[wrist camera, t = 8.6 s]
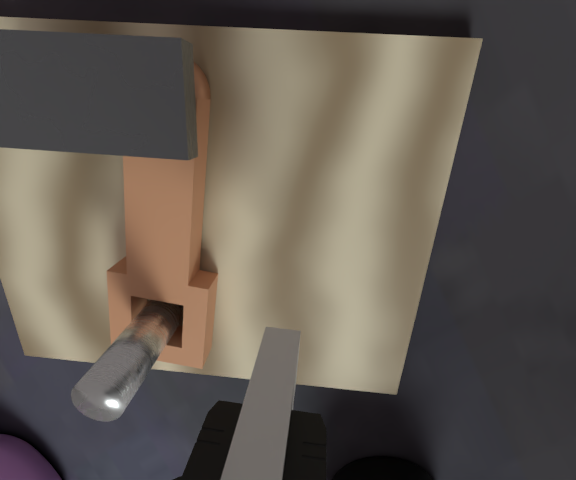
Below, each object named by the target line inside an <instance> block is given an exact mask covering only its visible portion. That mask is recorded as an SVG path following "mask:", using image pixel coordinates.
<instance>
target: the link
mask: <svg viewBox="0 0 576 480" xmlns="http://www.w3.org/2000/svg"><path fill="white" fill-rule="evenodd" d="M194 82H195V102H196V123H197V143H198V157H196V158H193V159H191V160H175V159H160V158H146V157H131V156H123V176H124V206H125V235H126V256H125V257H124V258H123V259H121V260H120V261H119V262H117V263H116V264H115V265H113V266H112V267H111V268H110V269H108V270H107V287H108V304H109V320H110V337H111V344H112V343H113V342H114V341H115V340H116V338H117V337H118V336H119V335H120V334H121V333H122V332H123V331H124V329H125V328H126V327H127V326H128V325H129V324H130V323H131V321H132V320H133V319H134V318H135V317H136V316H137V315H138V313H139V312H140V311H141V310H142V309H143V308H144V307H145V305H146V304H147V299H151V300H156V301H162V302H167V303H173V304H178V305H183V306H184V309H183V326H178V327H177V329H176V331H175V332H174V334H173V335H172V337H171V338H170V340H169V342H168V343H167V345H166V346H165V348H164V349H163V351H162V352H161V354H160V356H159V357H158V359H157V361H162V362H167V363H173V364H178V365H183V366H189V367H194V368H199V369H203V366H204V364H205V362H206V359H207V357H208V355H209V353H210V350H211V348H212V338H213V326H214V315H215V304H216V293H217V282H218V273H213V272H208V271H202V270H200V256H201V241H202V225H203V210H204V194H205V178H206V163H207V147H208V132H209V116H210V101H211V94H210V87H209V84H208V81H207V78H206V76H205V74H204V73H203V71H202V70H201V69H200V67H199V66H198V65H197V64H196V63H195V62H194Z"/></svg>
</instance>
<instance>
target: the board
mask: <svg viewBox="0 0 576 480" xmlns="http://www.w3.org/2000/svg"><path fill="white" fill-rule="evenodd" d="M0 29H7V30H28V31H49V32H70V33H91V34H112V35H133V36H154V37H175V38H182V39H184V40H186V41H188V42H190V43H192V44H193V61H194V62H195V63H196V64H197V65H198V66H199V67H200V69H201V70H202V71H203V73H204V74H205V76H206V78H207V81H208V84H209V87H210V94H211V101H210V116H209V132H208V147H207V163H206V178H205V194H204V210H203V225H202V241H201V256H200V270H202V271H208V272H213V273H218V282H217V293H216V304H215V315H214V326H213V338H212V348H211V350H210V353H209V355H208V357H207V359H206V362H205V364H204V366H203V369H199V368H194V367H189V366H183V365H178V364H173V363H167V362H162V361H157V360H156V362H155V363H154V365H153V367H152V368H151V369H158V370H168V371H177V372H187V373H196V374H205V375H215V376H224V377H234V378H243V379H250V378H251V375H252V371H253V368H254V365H255V361H256V358H257V355H258V351H259V348H260V344H261V341H262V338H263V334H264V331H265V328H266V327H274V328H282V329H290V330H298V331H301V334H300V344H299V355H298V366H297V377H296V384H300V385H309V386H319V387H328V388H338V389H347V390H357V391H366V392H376V393H385V394H395V395H397V391H398V387H399V383H400V378H401V374H402V370H403V366H404V362H405V358H406V354H407V350H408V345H409V341H410V337H411V333H412V329H413V325H414V321H415V317H416V312H417V308H418V304H419V300H420V296H421V292H422V288H423V284H424V279H425V275H426V271H427V267H428V263H429V259H430V255H431V251H432V246H433V242H434V238H435V234H436V230H437V226H438V222H439V218H440V213H441V209H442V205H443V201H444V197H445V193H446V189H447V185H448V180H449V176H450V172H451V168H452V164H453V160H454V156H455V152H456V147H457V143H458V139H459V135H460V131H461V127H462V123H463V119H464V114H465V110H466V106H467V102H468V98H469V94H470V90H471V86H472V81H473V77H474V73H475V69H476V65H477V61H478V57H479V53H480V48H481V44H482V40H483V39H480V38H458V37H436V36H414V35H392V34H370V33H348V32H327V31H305V30H283V29H261V28H239V27H217V26H195V25H173V24H151V23H129V22H107V21H85V20H63V19H41V18H19V17H0ZM125 256H126V235H125V206H124V176H123V156H117V155H102V154H88V153H73V152H59V151H44V150H30V149H15V148H1V147H0V278H1V281H2V285H3V288H4V291H5V294H6V297H7V300H8V303H9V307H10V310H11V313H12V316H13V319H14V322H15V326H16V329H17V332H18V335H19V338H20V341H21V344H22V348H23V351H24V354H25V355H26V356H35V357H45V358H54V359H64V360H73V361H83V362H92V363H95V362H96V361H97V360H98V359H99V358H100V357H101V356H102V354H103V353H104V352H105V351H106V350H107V349H108V348H109V346H110V345H111V337H110V320H109V304H108V287H107V270H108V269H110V268H111V267H112V266H113V265H115V264H116V263H117V262H119V261H120V260H121V259H123V258H124V257H125ZM150 300H151V299H147V303H148V302H149V301H150ZM179 326H183V320H182V321H181V323H180V324H179Z"/></svg>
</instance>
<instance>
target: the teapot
mask: <svg viewBox="0 0 576 480" xmlns="http://www.w3.org/2000/svg"><path fill="white" fill-rule="evenodd" d="M0 480H62V479H61V478H60V476H59V475H58V473H57V472H56V471H55V469H54V468H53V467H52V465H51V464H50V463H49V462H48V461H47V460H46V459H45V458H44V457H43V456H42V455H41V454H40V453H39V452H38V451H37V450H36V449H35V448H34V447H33V446H31V445H30V444H29V443H27V442H26V441H24V440H22V439H20V438H17V437H14V436H11V435H7V434H0Z"/></svg>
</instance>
